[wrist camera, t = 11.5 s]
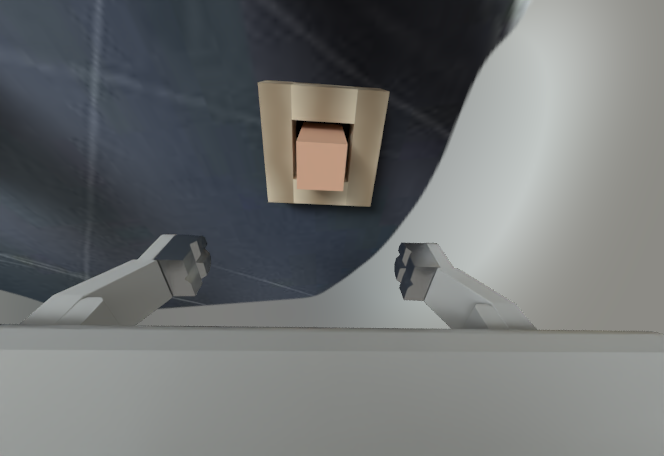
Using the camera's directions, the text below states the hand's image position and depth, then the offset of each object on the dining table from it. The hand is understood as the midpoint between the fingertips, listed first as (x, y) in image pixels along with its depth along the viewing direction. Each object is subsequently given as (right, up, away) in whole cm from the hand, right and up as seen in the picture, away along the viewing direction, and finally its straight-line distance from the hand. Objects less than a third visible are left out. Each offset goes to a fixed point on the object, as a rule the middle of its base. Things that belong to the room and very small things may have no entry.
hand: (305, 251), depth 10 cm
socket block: (0, +10, +16) cm, 19 cm away
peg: (0, +10, +16) cm, 19 cm away
